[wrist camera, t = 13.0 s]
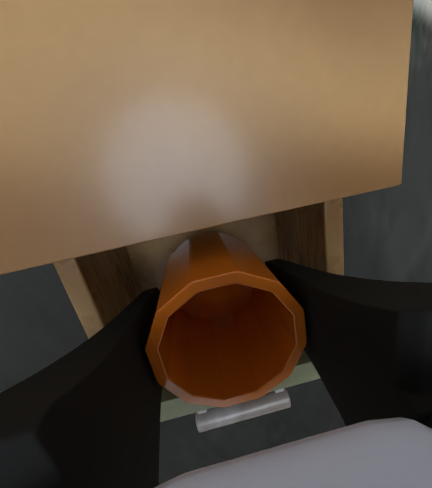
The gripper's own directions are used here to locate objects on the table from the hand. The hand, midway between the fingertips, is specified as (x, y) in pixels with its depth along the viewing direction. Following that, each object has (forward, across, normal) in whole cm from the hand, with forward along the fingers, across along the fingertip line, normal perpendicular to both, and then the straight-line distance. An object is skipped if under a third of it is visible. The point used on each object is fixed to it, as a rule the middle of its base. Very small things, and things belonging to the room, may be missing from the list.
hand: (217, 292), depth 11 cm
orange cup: (+1, 0, 0) cm, 1 cm away
